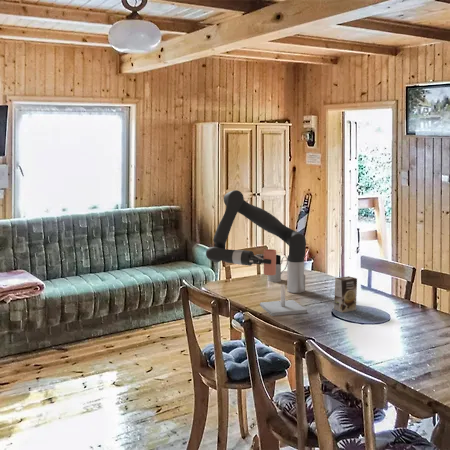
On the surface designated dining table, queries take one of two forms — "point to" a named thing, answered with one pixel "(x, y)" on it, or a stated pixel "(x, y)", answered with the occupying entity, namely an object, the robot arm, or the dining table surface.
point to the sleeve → (271, 268)
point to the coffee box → (345, 294)
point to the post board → (283, 306)
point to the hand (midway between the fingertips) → (273, 260)
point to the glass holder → (277, 270)
